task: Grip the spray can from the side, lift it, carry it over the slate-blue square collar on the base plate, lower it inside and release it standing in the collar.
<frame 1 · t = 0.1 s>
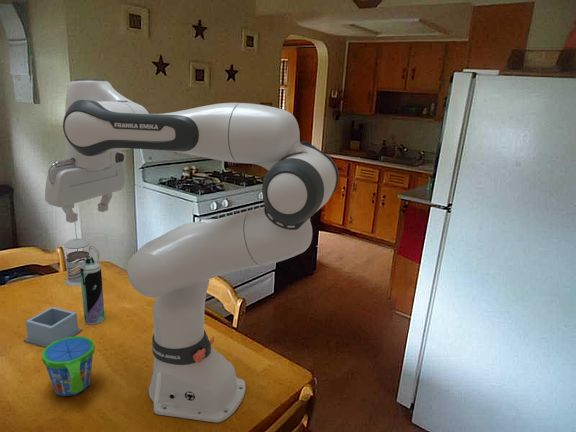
hand: (88, 216, 94), 39 cm above the table, tool pointing down, fingers open, 8 cm apart
french press: (83, 280, 149), on the table
snack cup: (72, 387, 97), on the table
collar stand: (53, 336, 116), on the table
spray can: (94, 320, 125), on the table
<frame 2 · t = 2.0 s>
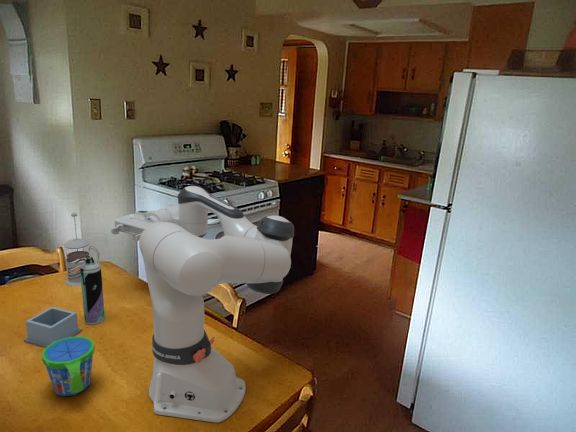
hand: (123, 234, 128), 23 cm above the table, tool horizontal, fingers open, 8 cm apart
nothing on the table moved.
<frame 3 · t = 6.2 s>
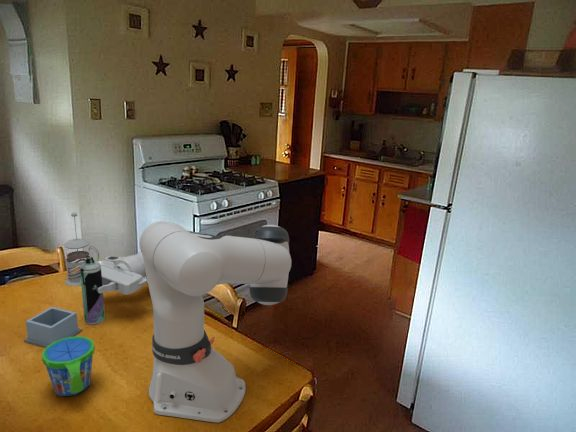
hand: (89, 287, 121), 11 cm above the table, tool horizontal, fingers closed on spray can, 5 cm apart
spray can: (94, 320, 125), on the table, touching gripper
everything else where it was.
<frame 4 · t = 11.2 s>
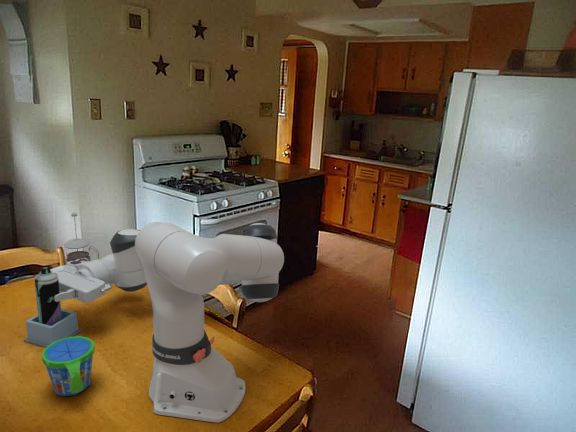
hand: (45, 295, 111), 13 cm above the table, tool horizontal, fingers closed on spray can, 5 cm apart
spray can: (51, 335, 115), resting on collar stand, touching gripper
everything else where it was.
when the fingers open (13 cm above the table, at t = 11.7 s): spray can stays where it is, resting on collar stand.
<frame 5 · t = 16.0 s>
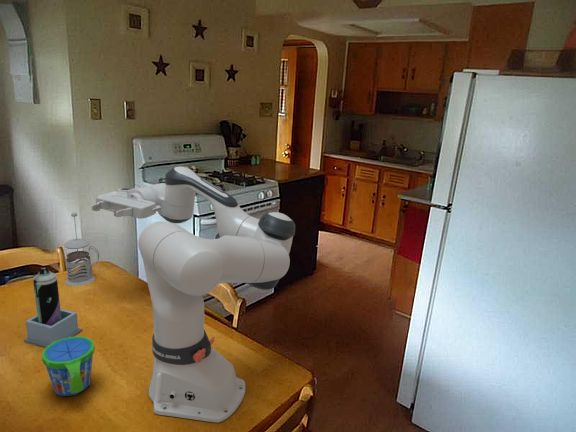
hand: (104, 211, 122), 32 cm above the table, tool horizontal, fingers open, 8 cm apart
spray can: (51, 335, 115), resting on collar stand
everything else where it was.
at the end: spray can 0.5 cm from the collar stand (horizontally); spray can resting on collar stand; spray can tilted 0° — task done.
